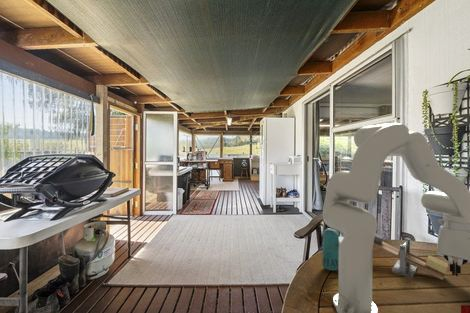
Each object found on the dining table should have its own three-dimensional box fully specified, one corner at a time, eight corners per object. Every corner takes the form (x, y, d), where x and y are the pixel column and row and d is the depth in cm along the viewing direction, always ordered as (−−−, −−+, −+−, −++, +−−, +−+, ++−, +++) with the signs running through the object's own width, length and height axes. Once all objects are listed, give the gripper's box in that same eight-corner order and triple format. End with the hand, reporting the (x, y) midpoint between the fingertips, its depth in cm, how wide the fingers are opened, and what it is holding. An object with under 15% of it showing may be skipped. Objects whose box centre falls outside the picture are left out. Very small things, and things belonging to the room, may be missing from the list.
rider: (443, 276, 90) (447, 267, 90) (424, 266, 94) (427, 258, 94) (444, 271, 94) (448, 263, 93) (425, 262, 98) (428, 254, 97)
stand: (412, 278, 93) (413, 249, 93) (391, 272, 98) (392, 244, 98) (417, 266, 103) (418, 239, 103) (398, 261, 108) (398, 235, 107)
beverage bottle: (320, 272, 98) (321, 223, 98) (323, 265, 104) (323, 218, 104) (338, 275, 95) (338, 225, 95) (339, 268, 101) (340, 220, 101)
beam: (442, 280, 90) (447, 268, 89) (363, 241, 108) (366, 231, 107) (444, 273, 95) (448, 261, 94) (367, 237, 113) (371, 227, 112)
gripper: (429, 223, 92) (428, 271, 92) (485, 232, 82) (484, 286, 82) (431, 219, 97) (430, 264, 98) (484, 227, 87) (483, 277, 88)
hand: (455, 274), depth 90 cm, fingers closed
